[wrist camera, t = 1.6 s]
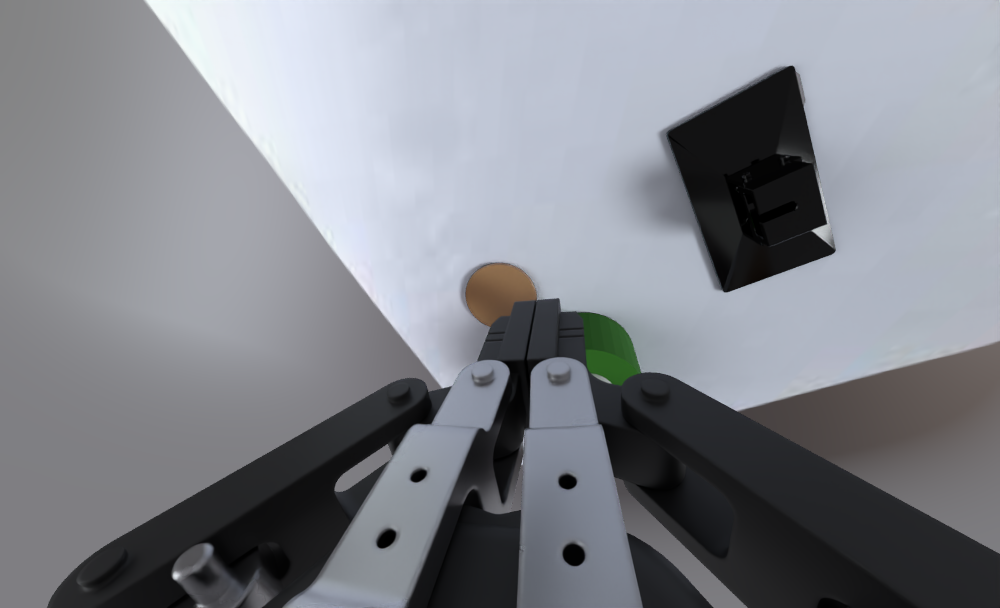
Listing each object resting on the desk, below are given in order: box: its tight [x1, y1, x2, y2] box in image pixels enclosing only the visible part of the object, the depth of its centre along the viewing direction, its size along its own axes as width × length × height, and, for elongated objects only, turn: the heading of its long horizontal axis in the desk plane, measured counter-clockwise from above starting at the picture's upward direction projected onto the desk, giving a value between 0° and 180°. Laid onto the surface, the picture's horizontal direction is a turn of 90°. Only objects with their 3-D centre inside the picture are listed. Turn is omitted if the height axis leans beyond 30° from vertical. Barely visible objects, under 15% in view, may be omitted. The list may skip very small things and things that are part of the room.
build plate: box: [667, 66, 836, 292], centre depth 21 cm, size 12×7×5 cm, turn 30°
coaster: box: [466, 263, 537, 327], centre depth 30 cm, size 6×6×1 cm
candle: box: [578, 313, 641, 386], centre depth 26 cm, size 8×8×10 cm
